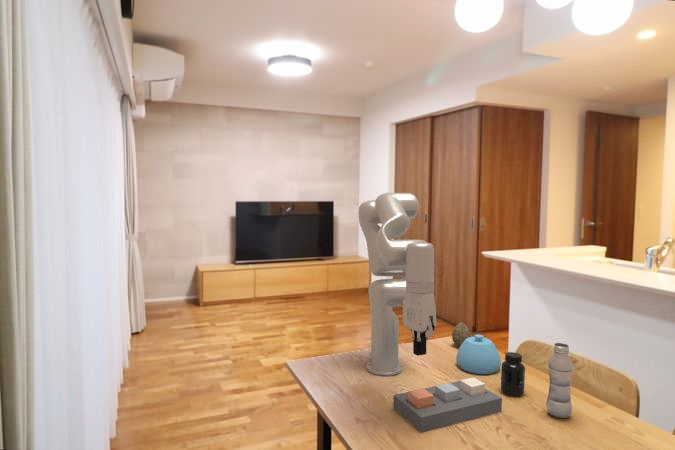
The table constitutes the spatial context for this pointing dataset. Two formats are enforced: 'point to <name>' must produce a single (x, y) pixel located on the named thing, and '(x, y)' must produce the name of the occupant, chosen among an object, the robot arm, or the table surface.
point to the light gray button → (447, 392)
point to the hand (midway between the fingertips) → (419, 354)
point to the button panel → (447, 409)
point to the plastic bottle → (560, 382)
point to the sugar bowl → (478, 356)
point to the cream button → (472, 387)
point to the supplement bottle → (513, 375)
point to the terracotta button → (420, 398)
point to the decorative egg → (460, 334)
